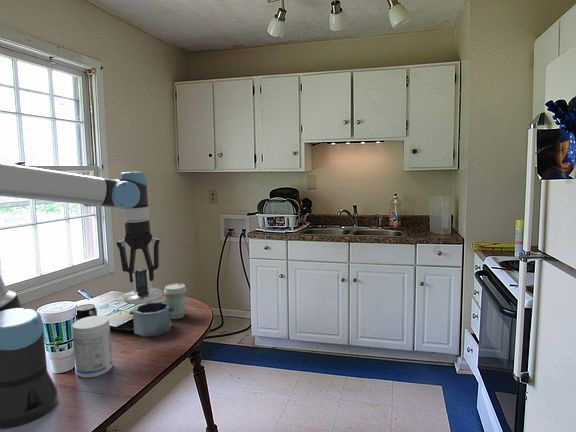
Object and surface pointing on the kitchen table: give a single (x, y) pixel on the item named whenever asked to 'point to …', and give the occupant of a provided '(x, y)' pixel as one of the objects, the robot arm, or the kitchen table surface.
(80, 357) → the supplement tub
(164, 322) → the pot
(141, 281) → the lid
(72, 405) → the kitchen table surface
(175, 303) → the coffee cup
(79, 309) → the beverage can
